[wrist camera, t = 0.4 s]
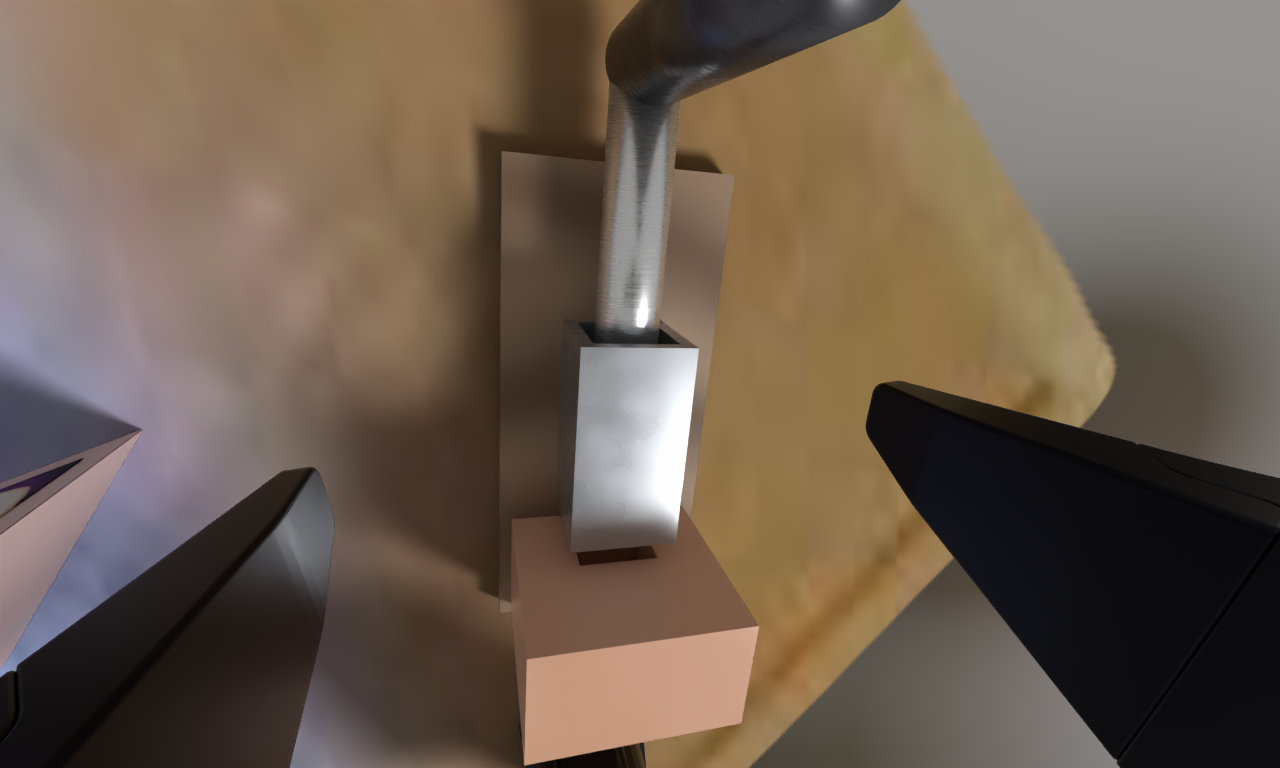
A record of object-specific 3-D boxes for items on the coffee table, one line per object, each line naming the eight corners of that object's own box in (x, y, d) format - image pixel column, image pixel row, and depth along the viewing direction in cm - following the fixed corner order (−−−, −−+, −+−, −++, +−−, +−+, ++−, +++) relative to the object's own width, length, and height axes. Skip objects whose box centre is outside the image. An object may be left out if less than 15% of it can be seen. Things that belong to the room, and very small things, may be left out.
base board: (674, 579, 29) (681, 591, 29) (498, 598, 27) (499, 613, 26) (724, 175, 23) (734, 175, 22) (500, 152, 21) (501, 150, 20)
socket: (673, 584, 28) (741, 723, 21) (510, 603, 26) (524, 765, 19) (682, 506, 27) (759, 626, 20) (511, 519, 25) (526, 659, 17)
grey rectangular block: (646, 490, 26) (675, 543, 22) (555, 496, 25) (570, 552, 21) (662, 321, 23) (699, 348, 20) (563, 319, 22) (580, 347, 18)
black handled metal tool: (640, 460, 24) (775, 688, 13) (576, 463, 24) (665, 708, 13) (679, 30, 19) (953, -177, 8) (600, 16, 18) (784, -233, 7)
